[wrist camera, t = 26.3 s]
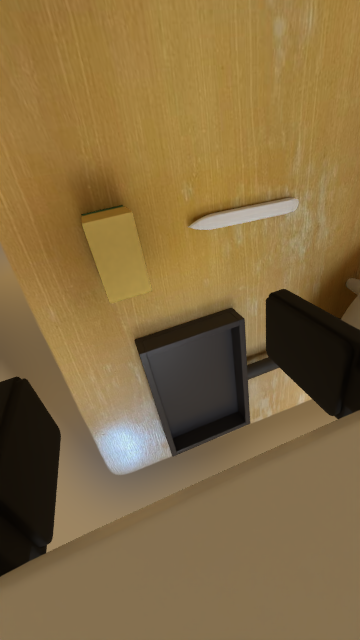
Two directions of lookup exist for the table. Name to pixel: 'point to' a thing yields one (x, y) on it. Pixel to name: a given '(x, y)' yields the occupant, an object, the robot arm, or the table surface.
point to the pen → (246, 214)
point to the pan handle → (260, 367)
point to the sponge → (117, 252)
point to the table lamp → (353, 305)
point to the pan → (198, 378)
